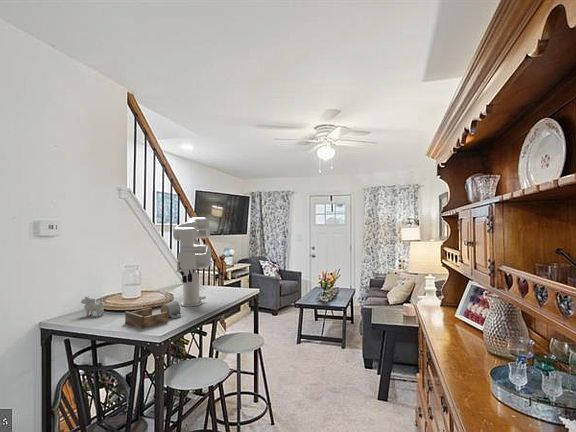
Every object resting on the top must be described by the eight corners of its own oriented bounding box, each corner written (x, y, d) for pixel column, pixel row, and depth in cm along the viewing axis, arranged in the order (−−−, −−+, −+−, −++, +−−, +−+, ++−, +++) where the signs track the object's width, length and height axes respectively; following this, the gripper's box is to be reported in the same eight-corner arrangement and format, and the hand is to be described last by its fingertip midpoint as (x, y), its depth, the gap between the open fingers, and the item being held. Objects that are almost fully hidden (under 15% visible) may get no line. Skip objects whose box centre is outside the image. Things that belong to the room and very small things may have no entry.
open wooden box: (150, 316, 182) (150, 306, 182) (167, 322, 172) (167, 310, 172) (125, 323, 172) (125, 311, 172) (141, 328, 161) (141, 317, 161)
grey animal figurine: (85, 313, 192) (85, 295, 192) (106, 314, 190) (106, 295, 190) (78, 316, 187) (78, 297, 187) (99, 316, 185) (99, 297, 185)
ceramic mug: (159, 317, 181) (159, 303, 181) (171, 313, 188) (171, 300, 188) (172, 320, 176) (173, 305, 176) (184, 316, 183) (185, 302, 183)
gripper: (195, 248, 200) (195, 279, 200) (170, 250, 188) (170, 283, 187) (202, 249, 196) (203, 280, 195) (178, 251, 183) (178, 285, 182)
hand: (187, 281), depth 191 cm, fingers open, 2 cm apart
